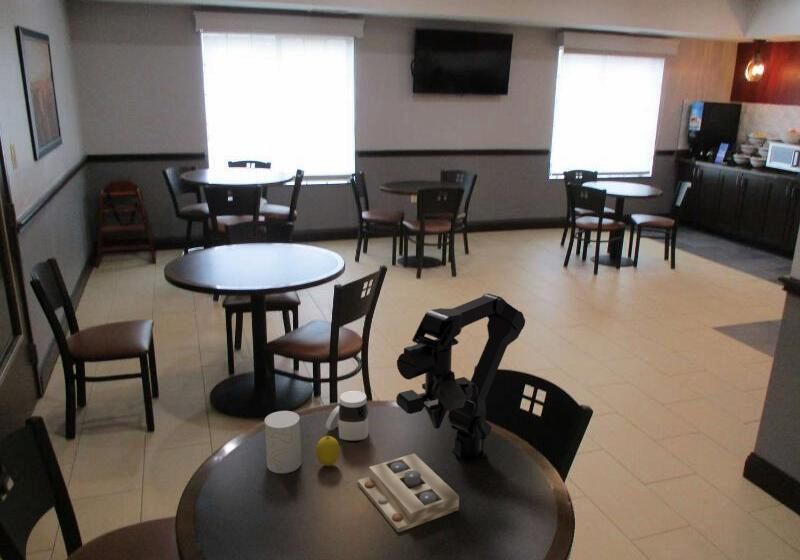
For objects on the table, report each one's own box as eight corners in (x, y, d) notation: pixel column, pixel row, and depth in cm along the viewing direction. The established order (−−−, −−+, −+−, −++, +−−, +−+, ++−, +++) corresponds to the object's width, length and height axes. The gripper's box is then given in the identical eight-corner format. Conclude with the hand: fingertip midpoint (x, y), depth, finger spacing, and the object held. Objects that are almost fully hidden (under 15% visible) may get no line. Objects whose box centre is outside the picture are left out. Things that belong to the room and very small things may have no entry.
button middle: (415, 477, 139) (415, 468, 139) (423, 485, 136) (423, 476, 136) (401, 481, 138) (401, 473, 137) (409, 490, 135) (409, 481, 134)
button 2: (430, 498, 134) (430, 489, 134) (439, 507, 131) (439, 498, 131) (416, 503, 133) (416, 494, 132) (425, 513, 130) (425, 504, 129)
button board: (413, 466, 148) (414, 453, 148) (458, 510, 133) (459, 496, 132) (357, 483, 141) (357, 470, 140) (397, 532, 125) (398, 518, 125)
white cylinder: (260, 468, 147) (257, 423, 144) (279, 451, 154) (276, 408, 151) (289, 476, 144) (287, 430, 141) (307, 458, 151) (305, 414, 148)
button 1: (401, 468, 145) (401, 460, 145) (408, 476, 142) (408, 468, 142) (387, 472, 143) (387, 464, 143) (395, 480, 140) (395, 472, 140)
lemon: (336, 473, 145) (335, 443, 143) (313, 470, 146) (312, 440, 144) (342, 460, 150) (342, 431, 148) (321, 458, 151) (320, 429, 149)
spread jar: (367, 447, 156) (366, 406, 153) (322, 446, 157) (321, 405, 153) (369, 423, 168) (369, 384, 165) (328, 423, 168) (327, 384, 165)
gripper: (421, 388, 127) (420, 455, 131) (493, 370, 136) (490, 433, 140) (395, 369, 136) (394, 431, 141) (464, 353, 145) (462, 413, 149)
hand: (436, 427), depth 142 cm, fingers closed
